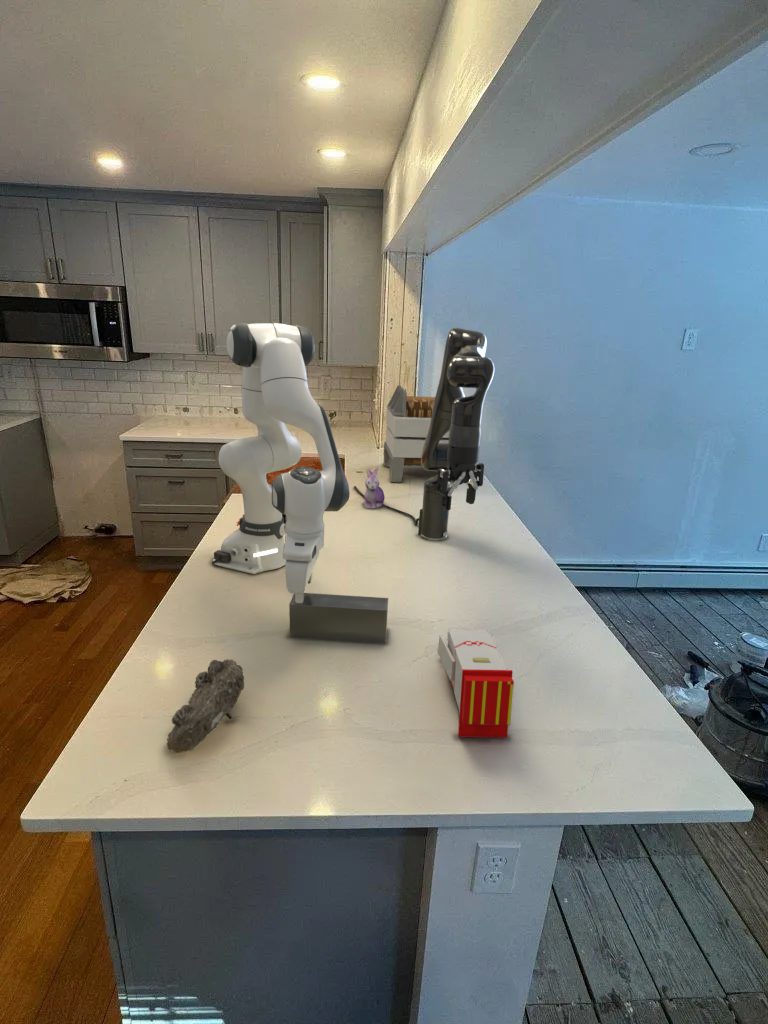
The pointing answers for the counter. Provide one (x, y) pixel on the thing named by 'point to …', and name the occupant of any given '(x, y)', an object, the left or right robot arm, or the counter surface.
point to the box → (339, 617)
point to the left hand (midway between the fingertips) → (303, 591)
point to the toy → (478, 682)
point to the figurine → (373, 491)
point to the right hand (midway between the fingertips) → (458, 506)
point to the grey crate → (406, 431)
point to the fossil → (206, 705)
